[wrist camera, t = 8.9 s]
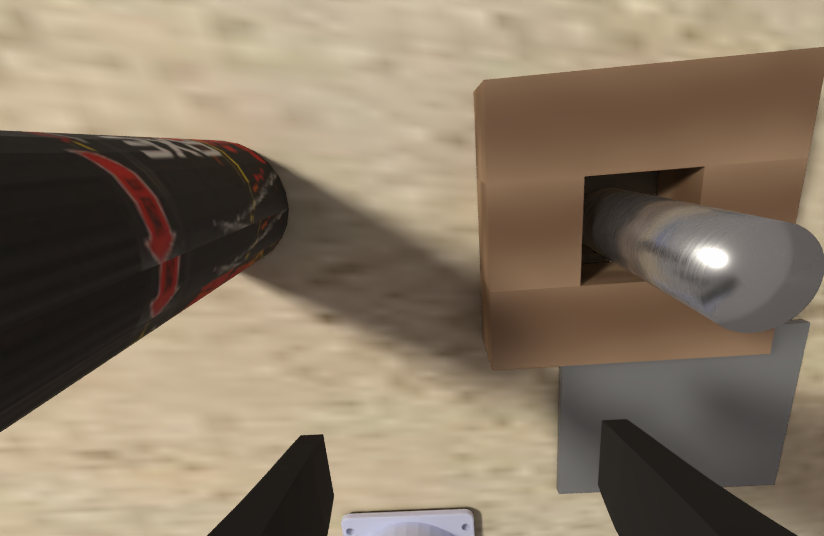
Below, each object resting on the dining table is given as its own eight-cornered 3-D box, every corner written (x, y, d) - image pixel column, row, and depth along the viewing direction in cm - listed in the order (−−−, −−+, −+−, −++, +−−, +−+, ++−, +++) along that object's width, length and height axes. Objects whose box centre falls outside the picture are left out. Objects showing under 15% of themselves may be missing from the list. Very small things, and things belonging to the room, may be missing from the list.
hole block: (720, 324, 20) (769, 353, 17) (482, 339, 21) (492, 370, 18) (759, 64, 17) (829, 46, 14) (473, 91, 17) (483, 80, 14)
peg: (639, 244, 19) (818, 323, 10) (575, 255, 19) (699, 340, 11) (637, 181, 18) (831, 210, 10) (571, 193, 18) (701, 232, 10)
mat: (768, 479, 23) (774, 484, 22) (556, 488, 23) (558, 493, 23) (802, 319, 20) (810, 322, 19) (560, 334, 20) (563, 338, 20)
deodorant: (285, 143, 18) (-245, 119, 4) (291, 267, 20) (-60, 577, 5) (158, 137, 18) (-841, 90, 4) (174, 261, 20) (-475, 549, 6)
